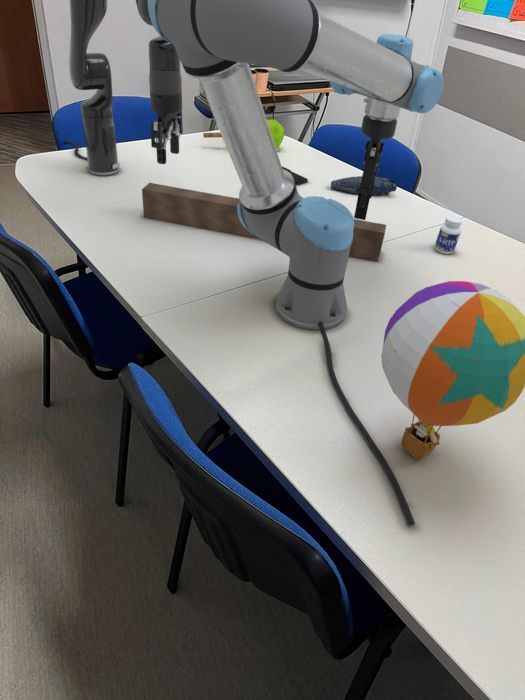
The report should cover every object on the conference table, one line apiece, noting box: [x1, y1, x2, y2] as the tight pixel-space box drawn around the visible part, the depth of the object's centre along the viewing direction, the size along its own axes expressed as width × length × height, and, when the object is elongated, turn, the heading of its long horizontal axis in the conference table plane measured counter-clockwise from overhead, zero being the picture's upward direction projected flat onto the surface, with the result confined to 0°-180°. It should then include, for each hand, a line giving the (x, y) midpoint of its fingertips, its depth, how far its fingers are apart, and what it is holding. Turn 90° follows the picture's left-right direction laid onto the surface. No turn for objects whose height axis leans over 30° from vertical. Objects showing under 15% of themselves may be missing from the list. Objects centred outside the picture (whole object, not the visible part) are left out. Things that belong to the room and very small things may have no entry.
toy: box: [380, 280, 525, 461], centre depth 74 cm, size 20×20×30 cm
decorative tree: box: [202, 119, 285, 149], centre depth 190 cm, size 18×10×30 cm
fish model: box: [330, 175, 398, 196], centre depth 167 cm, size 7×21×5 cm, turn 84°
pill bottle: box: [434, 215, 463, 255], centre depth 137 cm, size 5×5×9 cm
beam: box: [141, 182, 387, 262], centre depth 137 cm, size 64×5×8 cm, turn 75°
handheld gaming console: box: [282, 166, 309, 186], centre depth 171 cm, size 12×7×10 cm
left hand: (168, 158), depth 133 cm, fingers open, 8 cm apart
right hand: (362, 207), depth 128 cm, fingers open, 13 cm apart
